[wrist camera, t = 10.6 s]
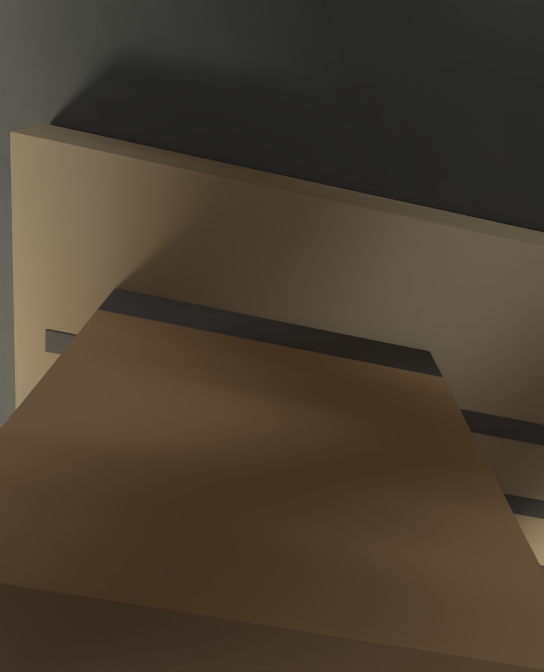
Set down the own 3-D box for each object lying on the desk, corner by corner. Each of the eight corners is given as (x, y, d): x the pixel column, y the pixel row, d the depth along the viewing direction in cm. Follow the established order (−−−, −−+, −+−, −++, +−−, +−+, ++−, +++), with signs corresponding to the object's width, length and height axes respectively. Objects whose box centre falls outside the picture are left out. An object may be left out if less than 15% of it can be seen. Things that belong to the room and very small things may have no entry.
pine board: (1067, 346, 9) (1171, 383, 8) (710, 696, 14) (746, 748, 13) (47, 124, 8) (9, 132, 7) (42, 591, 13) (20, 638, 12)
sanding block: (430, 351, 8) (599, 678, 4) (321, 626, 11) (343, 985, 7) (114, 287, 8) (-110, 564, 3) (91, 590, 11) (-43, 941, 7)
